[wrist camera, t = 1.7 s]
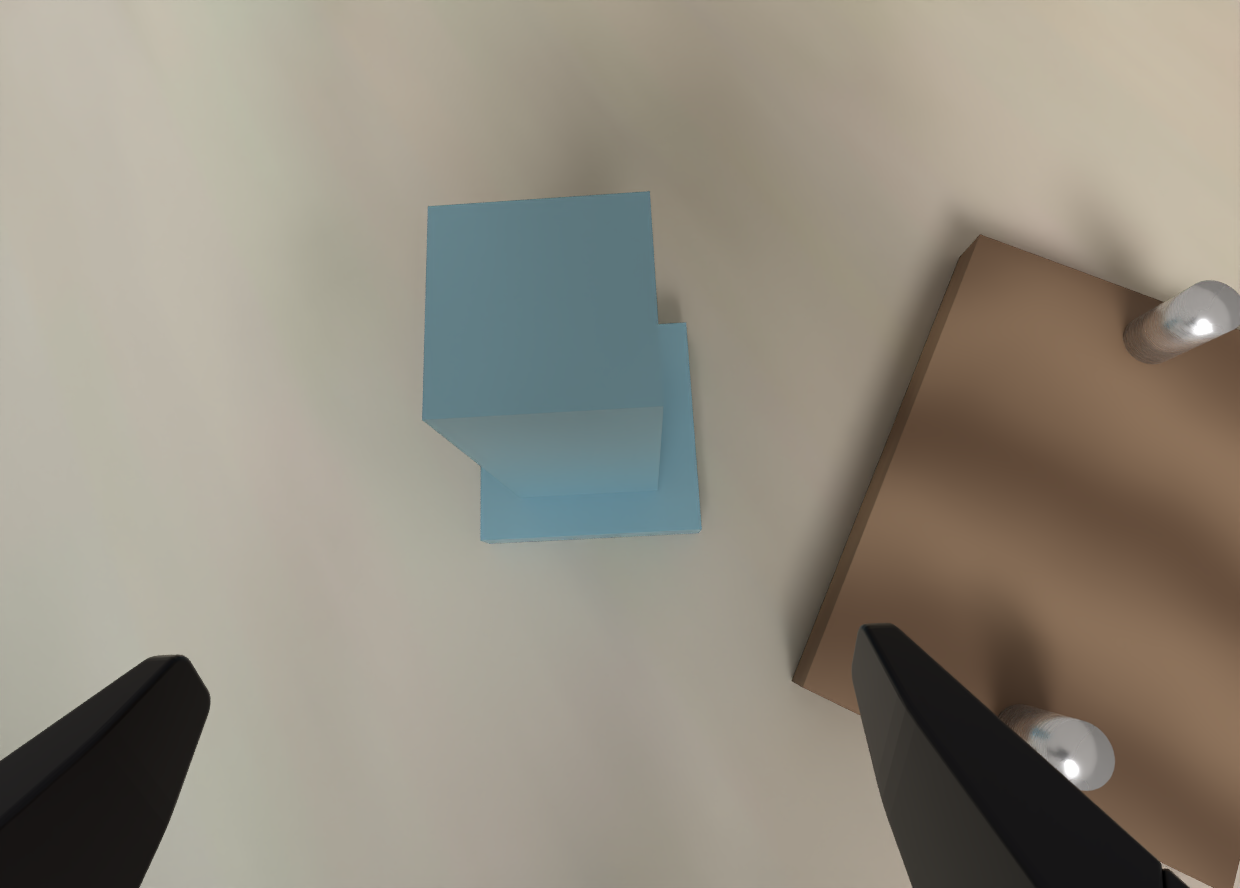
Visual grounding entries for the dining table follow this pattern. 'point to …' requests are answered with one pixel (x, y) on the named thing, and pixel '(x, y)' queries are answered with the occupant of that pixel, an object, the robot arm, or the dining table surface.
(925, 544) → the walnut base plate
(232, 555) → the dining table surface
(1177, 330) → the dowel pins
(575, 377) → the stepped blue block
